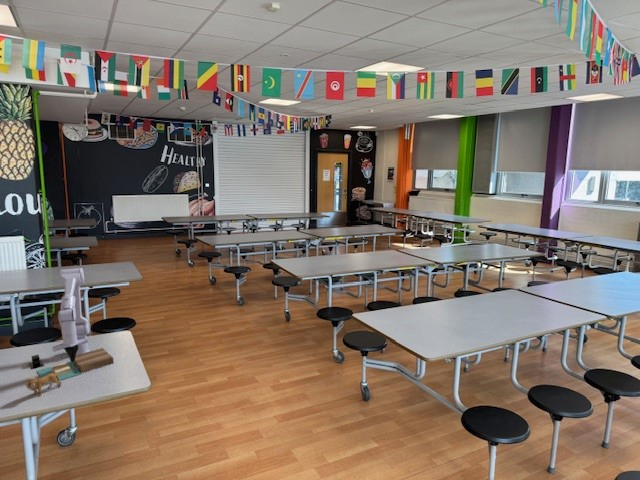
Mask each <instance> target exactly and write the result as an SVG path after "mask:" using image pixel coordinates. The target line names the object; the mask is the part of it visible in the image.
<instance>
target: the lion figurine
mask: <svg viewBox="0 0 640 480" xmlns="http://www.w3.org/2000/svg"><path fill="white" fill-rule="evenodd" d="M53 382H54V383H53ZM48 383H50V384H48ZM61 383H62V381H60V380H59V378H58V376H57V375H56V374H54V373H52V374H48V375H47V376H45V377H43V378H41V377H40V376H39V377H38V376H30V377H29V378H27V379H26V381H25V387H26V389H28V390H30V391H33V392H34V393H33V396H36V395H37V396H38V397H41V396H42V393H43V392H42V387H44V386H47V384H48V385H49V386H48V387H47V389H51V388H52V386H53V385H54V384H56V385H57V384H58V385H57V388H60V387H62V384H61Z"/></svg>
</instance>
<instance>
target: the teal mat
mask: <svg viewBox="0 0 640 480" xmlns="http://www.w3.org/2000/svg"><path fill="white" fill-rule="evenodd" d="M66 364H67V365H68V366H69V367H70V368H71V373H68V374H65V375H61V376H58V378H59V380H60V382H62V381H64V380H67V379H69V378H73V377H76V376H80V375H81V374H82V373H81V372H80V370H79V369H78V368H77V367H76V366H75V365H74V363H73V362H71V361H66ZM36 372H37V373H38V375H39V378H43V377H45V376H47V375H48V374H52V373H53V372H52V370H51V366H49V367H45V368H42V369H38V370H36ZM53 384H55V383H54V382H53ZM47 385H50V383H48V384H47ZM47 385H46V386H47Z"/></svg>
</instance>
